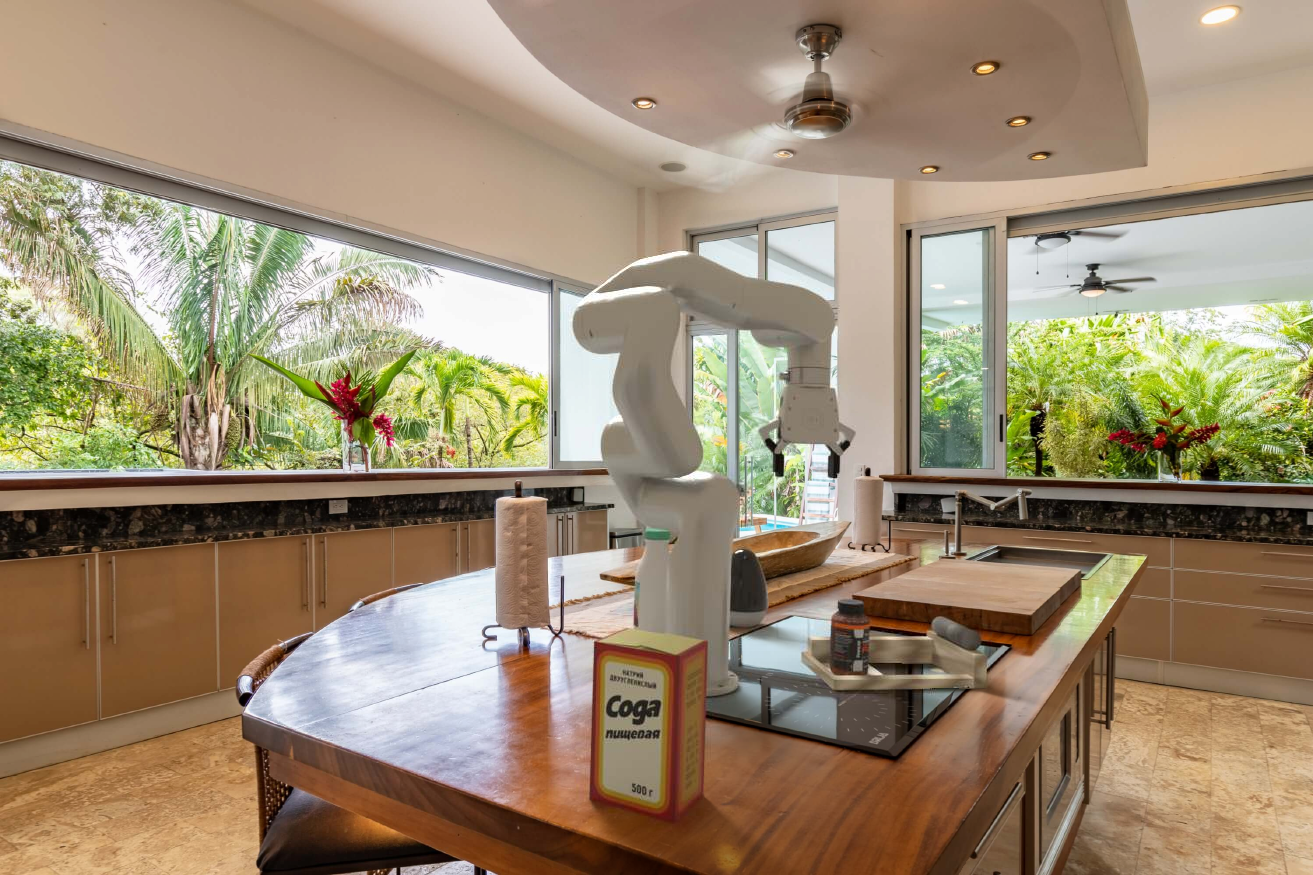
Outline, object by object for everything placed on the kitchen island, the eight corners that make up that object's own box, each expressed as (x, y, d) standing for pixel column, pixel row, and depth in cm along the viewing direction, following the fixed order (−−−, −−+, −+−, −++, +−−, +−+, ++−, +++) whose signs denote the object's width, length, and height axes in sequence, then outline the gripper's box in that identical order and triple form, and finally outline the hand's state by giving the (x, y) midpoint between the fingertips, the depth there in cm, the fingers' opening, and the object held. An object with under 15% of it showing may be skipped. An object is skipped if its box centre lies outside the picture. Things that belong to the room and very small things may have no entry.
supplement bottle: (869, 680, 116) (871, 606, 116) (829, 676, 118) (831, 603, 118) (867, 669, 122) (868, 598, 122) (829, 665, 123) (831, 596, 124)
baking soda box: (589, 798, 75) (594, 637, 76) (622, 774, 81) (626, 624, 81) (674, 823, 71) (679, 651, 71) (703, 795, 77) (707, 637, 77)
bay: (833, 689, 112) (835, 635, 112) (801, 660, 127) (802, 612, 127) (989, 687, 115) (990, 635, 115) (940, 659, 130) (941, 612, 130)
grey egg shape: (716, 617, 157) (718, 543, 157) (767, 620, 156) (769, 546, 156) (713, 628, 147) (715, 550, 147) (767, 632, 146) (770, 552, 146)
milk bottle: (683, 639, 138) (686, 529, 138) (661, 648, 132) (664, 533, 132) (648, 632, 142) (651, 526, 143) (624, 641, 136) (627, 529, 136)
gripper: (766, 376, 129) (763, 477, 129) (864, 380, 131) (861, 479, 131) (755, 380, 136) (752, 475, 136) (847, 383, 138) (845, 477, 138)
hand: (805, 477), depth 134 cm, fingers open, 9 cm apart
